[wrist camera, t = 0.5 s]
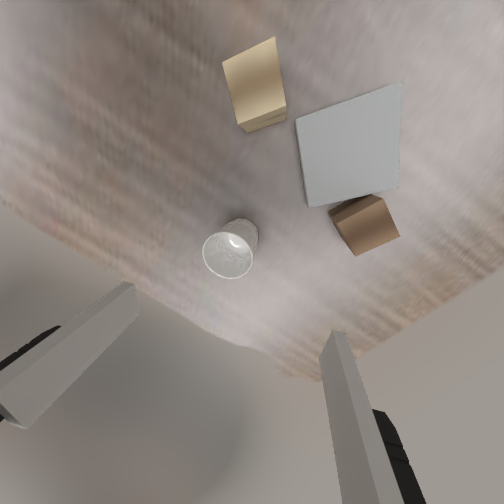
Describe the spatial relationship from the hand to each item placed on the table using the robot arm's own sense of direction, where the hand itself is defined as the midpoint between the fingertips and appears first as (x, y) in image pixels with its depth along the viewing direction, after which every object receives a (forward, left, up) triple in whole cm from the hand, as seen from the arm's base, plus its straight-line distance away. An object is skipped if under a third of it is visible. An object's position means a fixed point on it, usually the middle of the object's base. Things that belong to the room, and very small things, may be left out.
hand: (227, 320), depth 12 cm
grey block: (-7, +14, -25) cm, 30 cm away
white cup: (+2, -5, -25) cm, 26 cm away
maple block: (-17, +4, -25) cm, 30 cm away
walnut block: (+3, +15, -25) cm, 29 cm away
